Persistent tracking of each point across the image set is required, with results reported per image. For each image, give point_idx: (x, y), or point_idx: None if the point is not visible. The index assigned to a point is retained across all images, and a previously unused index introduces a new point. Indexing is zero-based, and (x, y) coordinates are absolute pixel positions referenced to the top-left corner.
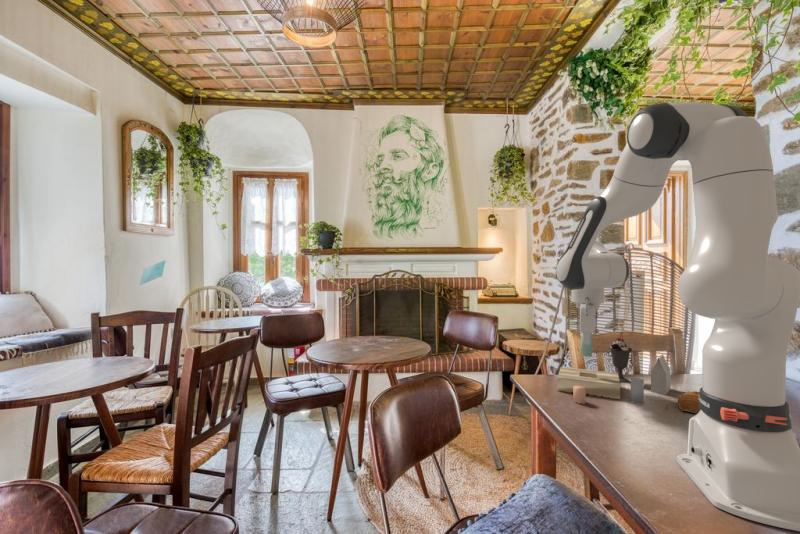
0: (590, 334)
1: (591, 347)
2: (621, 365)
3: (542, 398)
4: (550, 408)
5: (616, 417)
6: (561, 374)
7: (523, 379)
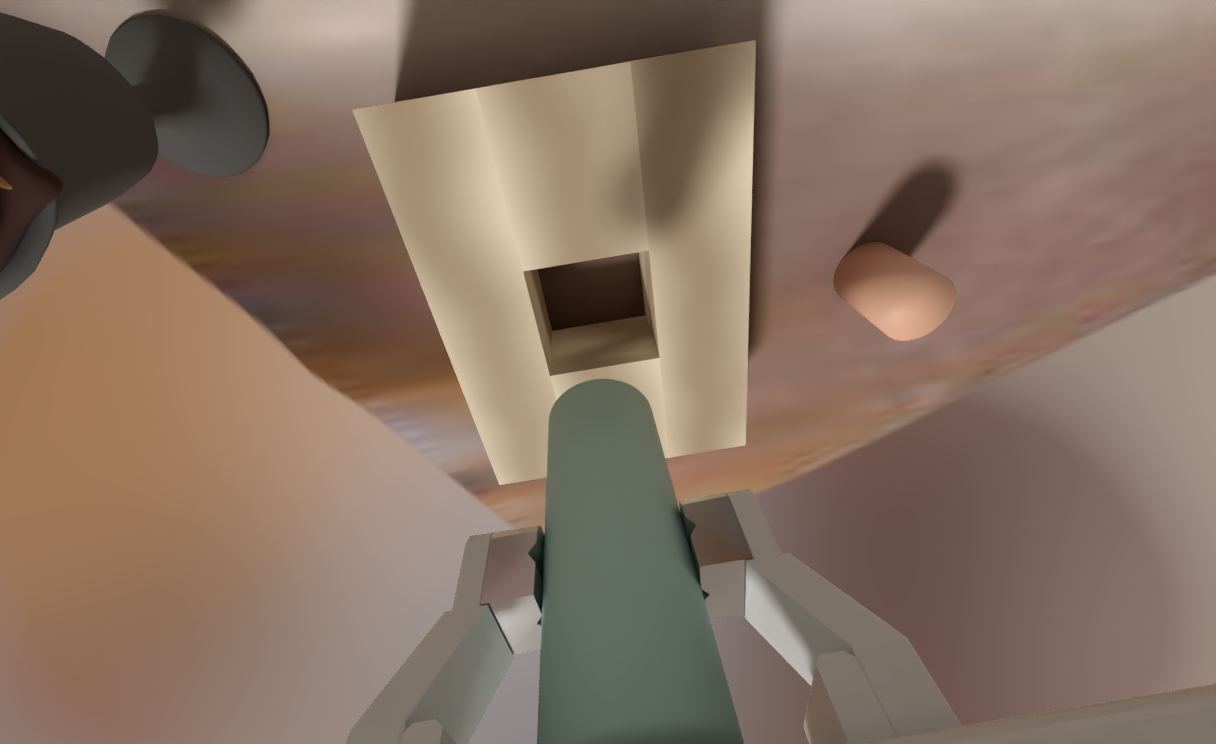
0: (884, 625)
1: (633, 445)
2: (128, 90)
3: (861, 417)
4: (989, 360)
5: (1091, 31)
6: (674, 443)
7: None
